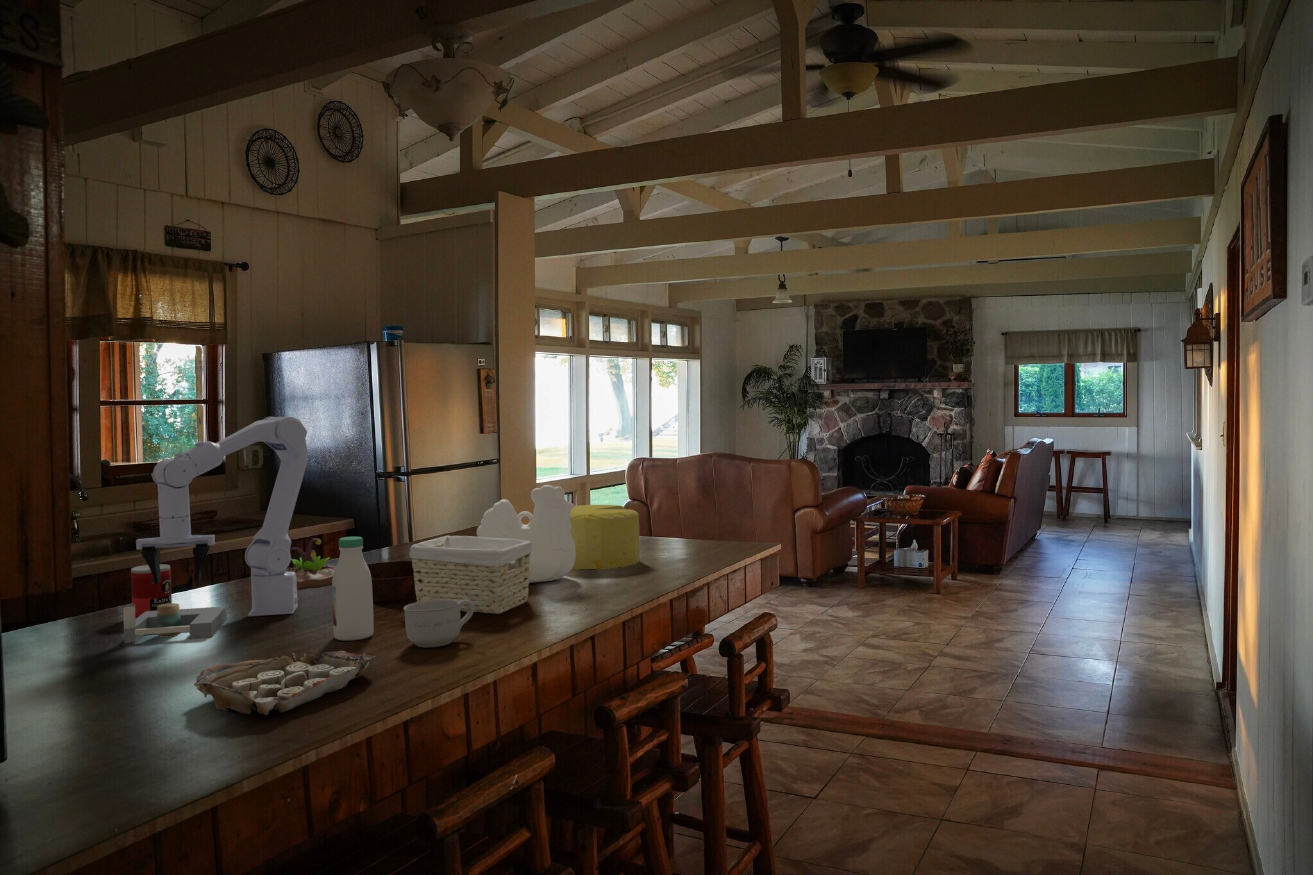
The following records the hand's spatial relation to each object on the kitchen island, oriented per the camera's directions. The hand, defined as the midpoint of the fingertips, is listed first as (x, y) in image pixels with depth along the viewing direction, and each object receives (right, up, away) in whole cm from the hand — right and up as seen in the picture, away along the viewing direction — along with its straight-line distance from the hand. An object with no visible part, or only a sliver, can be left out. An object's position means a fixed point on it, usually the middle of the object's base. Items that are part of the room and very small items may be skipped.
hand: (178, 581), depth 196 cm
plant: (+9, -8, +52) cm, 53 cm away
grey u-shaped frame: (0, -10, 0) cm, 10 cm away
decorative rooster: (+67, -7, +47) cm, 82 cm away
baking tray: (+39, -12, -41) cm, 58 cm away
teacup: (+58, -10, -12) cm, 60 cm away
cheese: (+82, -6, +73) cm, 110 cm away
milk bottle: (+39, -10, -7) cm, 41 cm away
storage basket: (+58, -9, +20) cm, 62 cm away
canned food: (-12, -10, +13) cm, 21 cm away
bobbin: (0, -10, -3) cm, 11 cm away
